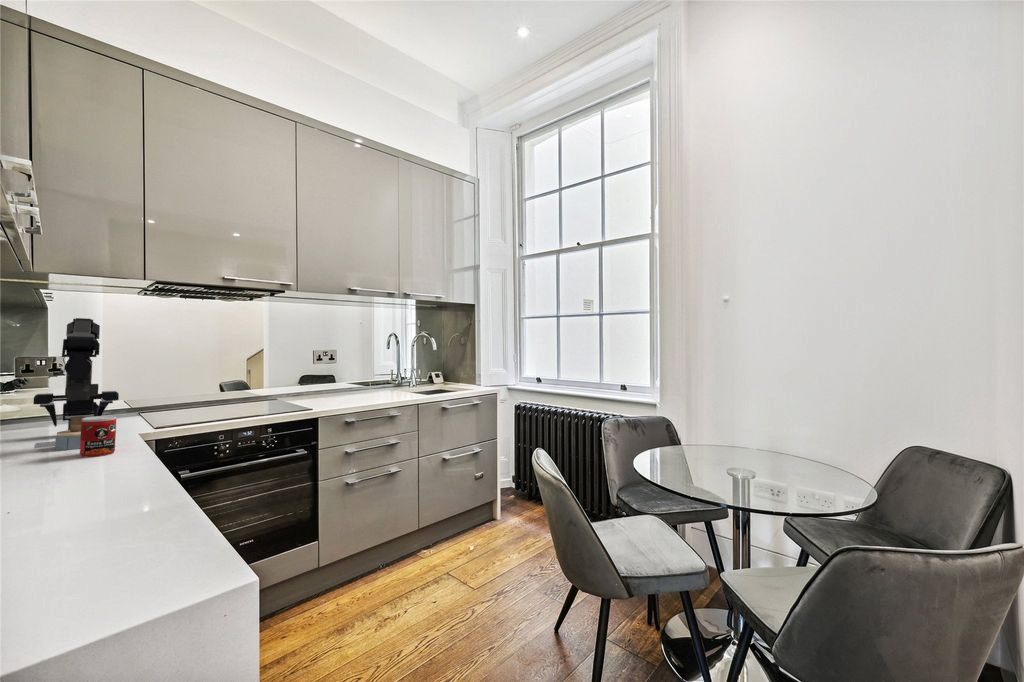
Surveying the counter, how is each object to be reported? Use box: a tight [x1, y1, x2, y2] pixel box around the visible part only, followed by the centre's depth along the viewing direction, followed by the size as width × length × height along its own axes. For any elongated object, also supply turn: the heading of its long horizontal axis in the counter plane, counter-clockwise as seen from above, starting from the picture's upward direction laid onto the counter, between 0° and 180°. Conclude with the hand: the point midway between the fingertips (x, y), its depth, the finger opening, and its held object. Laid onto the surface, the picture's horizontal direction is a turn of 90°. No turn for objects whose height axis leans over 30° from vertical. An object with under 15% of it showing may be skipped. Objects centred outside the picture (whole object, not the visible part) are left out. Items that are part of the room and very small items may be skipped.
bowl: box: [54, 434, 81, 451], centre depth 136 cm, size 9×9×4 cm
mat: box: [34, 440, 55, 449], centre depth 140 cm, size 10×8×1 cm
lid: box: [56, 415, 84, 437], centre depth 136 cm, size 9×9×6 cm
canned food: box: [79, 415, 117, 458], centre depth 129 cm, size 8×8×11 cm
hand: (76, 424), depth 136 cm, fingers open, 9 cm apart
